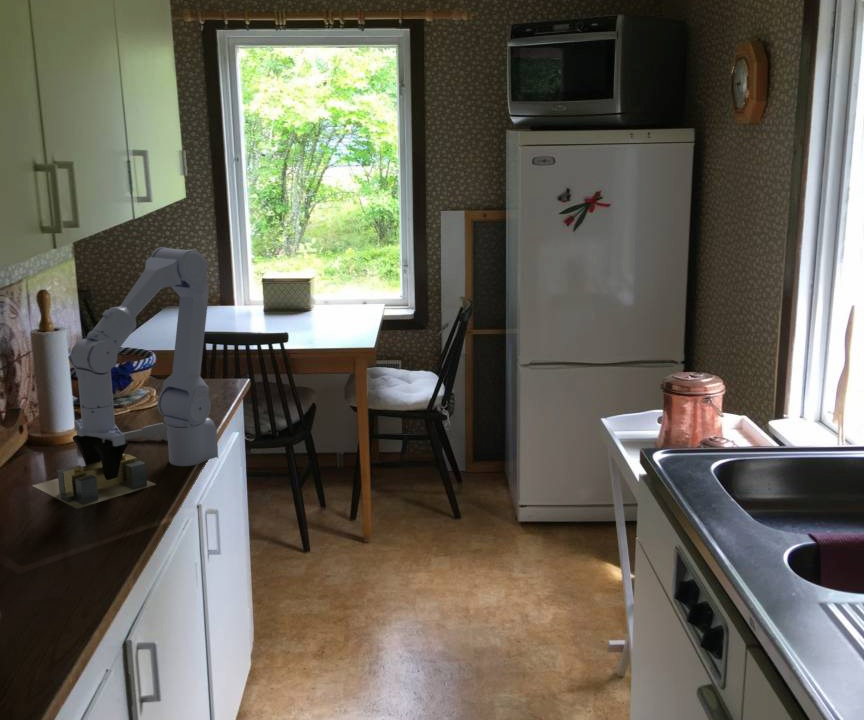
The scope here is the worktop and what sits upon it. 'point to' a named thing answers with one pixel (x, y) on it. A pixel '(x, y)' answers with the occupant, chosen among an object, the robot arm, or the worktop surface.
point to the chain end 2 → (135, 475)
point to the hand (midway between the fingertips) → (102, 474)
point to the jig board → (103, 493)
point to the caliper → (148, 431)
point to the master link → (96, 474)
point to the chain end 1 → (79, 488)
